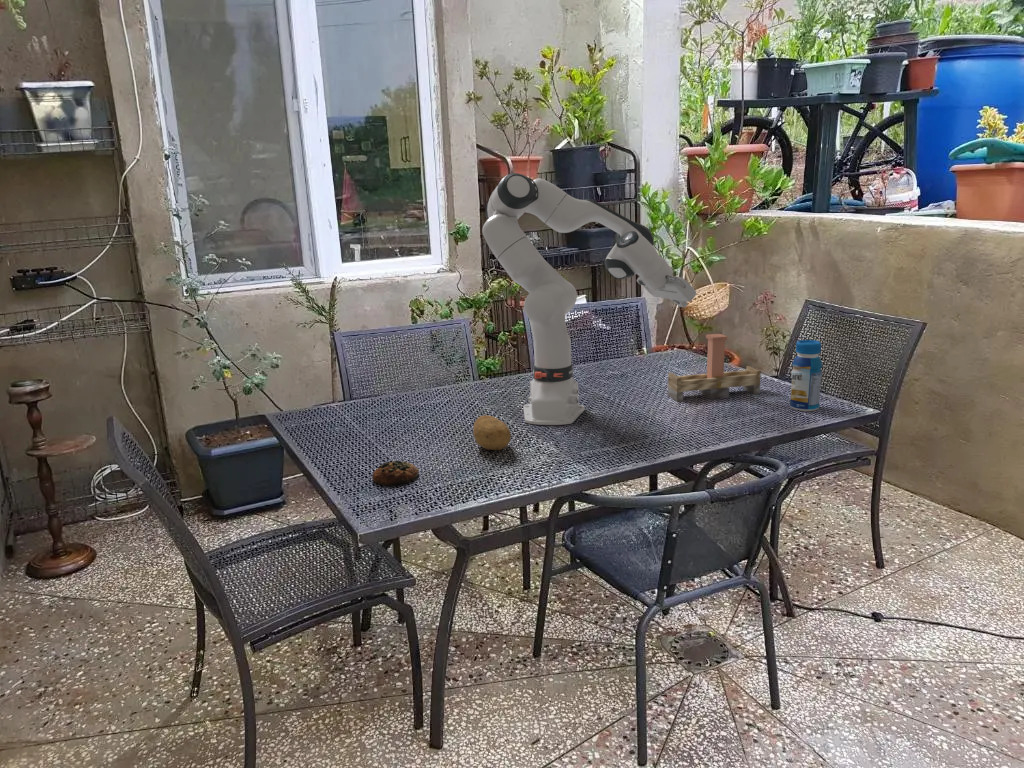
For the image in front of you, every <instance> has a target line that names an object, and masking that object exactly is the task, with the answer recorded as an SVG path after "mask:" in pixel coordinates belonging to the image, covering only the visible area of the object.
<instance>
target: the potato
mask: <svg viewBox="0 0 1024 768" xmlns="http://www.w3.org/2000/svg"><path fill="white" fill-rule="evenodd" d="M472 430H473V437H474V439H475V442H476V444H477V445H479V447H482V448H484V449H485V450H492V451H500V450H502V449H504V448H506V447H507V446H508V445H509V443H510V442H511V437H512V434H511V431H510V429H509V427H508V426H507V424H506V423H505V422H504V421H502V420H500V419H498V418H497V417H495V416H492V415H487V414H486V415H481V416H478V418H477V419H476V420H475V421H474V424H473V429H472Z"/></svg>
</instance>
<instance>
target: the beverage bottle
mask: <svg viewBox="0 0 1024 768" xmlns="http://www.w3.org/2000/svg"><path fill="white" fill-rule="evenodd" d="M821 352H822V342H820V341H819V340H816V339H801V340H797V341H796V346H795V353H796V354H797V355H796V356H795V358H794V359H793V361H792V364H791V365H792V370H791V374H790V376H791V385H790V389H791V390H790V401H789V406H790V409H792V410H796V411H798V410H799V412H814V411H817V410H819V409H820V396H821V395H820V394H821V384H822V383H821V382H822V378H823V372H822V368H823V362H822V360H821V358H820V356H819V355H820V354H821Z"/></svg>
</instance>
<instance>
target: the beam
mask: <svg viewBox="0 0 1024 768" xmlns="http://www.w3.org/2000/svg"><path fill="white" fill-rule="evenodd" d="M761 375H762V371H761V370H759V369H757V368H755V367H753V366H751V365H746V369H743V370H742V369H741V370H733V371H724V375H723V377H714V378H707V373H699V374H687V375H686V374H685V375H677V374H675V373H673V372H668V377H667V378H668V379H667V396H669V397H670V398H671V399H672V398H673V400H674V401H675V402H683V401H684V398H683V397H684V392H691V391H692V392H693V391H694V392H695V391H698V392H699V393H700V394H702V395H704V396H705V397H707V398H709V399H710V400H716V399H726V398H730V388H736V387H737V388H738V387H742V388H743V390H745V391H747V392H749V393H751V394H752V395H758V393H761V378H762V377H761Z"/></svg>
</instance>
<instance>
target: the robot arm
mask: <svg viewBox="0 0 1024 768" xmlns="http://www.w3.org/2000/svg"><path fill="white" fill-rule="evenodd" d="M524 213H526V214H531V215H533V216H535V217H537V218H538V219H539V221H541V222H542V223H544V224H545V225H547V226H548V227H549V228H550V229H552V230H553V231H555V232H557V233H560V234H561V233H562V234H566V233H567V234H568V233H571V232H574V231H576V230H578V229H579V228H581V227H583V226H585V225H587V224H589V223H599V224H601V225H602V226H604V227H606V228H607V229H609V230H612V231H613V232H615V233H617V234H618V235H619V236H620V237H619V238H618V239H617V241H616V243H615V244H614V246H613V247H612V248H611V250H610V251H609V252H608V254H607V255H606V258H605V260H604V267H605V268H606V271H607V272H608V273H609V274H610V276H612V278H614V279H616V280H625V279H629V278H632V277H634V276H635V275H637V276H638V277H637V279H636V282H637V284H639V285H640V286H642V287H643V288H644V289H645V290H646V291H647V292H648V293H649V294H650V295H651V296H653V297H654V298H661V299H666V300H668V299H669V300H670V301H671V302H673V303H674V304H675V305H677V306H678V307H679V308H686V307H687V306H688V305H689V303H690V302H692V300H694V298H695V297H696V296H697V291H696V290H695V288H694V287H693V286H692V285H691V284H690V283H689V282H688V281H687V280H686V279H684V278H683V277H682V276H676V275H673V274H674V270H673V268H672V267H671V266H670V265H669V263H668V262H667V260H666V259H664V257H662V256H661V255H659V254H658V252H657V250H656V248H655V247H654V243H655V242H654V235H653V233H652V231H651V230H650V229H649V228H648V227H647V226H645V225H643V224H642V223H638V222H635V221H633V220H631V219H629V218H627V217H625V216H624V215H621V214H620V213H618V212H616V211H615V210H613V209H611V208H609V207H607V206H606V205H603V204H602V203H600V202H598V201H596V200H593V199H590V198H584V199H580V198H579V199H578V198H576V197H573V196H572V195H570V194H568V193H567V192H566V191H565V190H563V189H562V188H560V187H558V186H557V185H555V184H554V183H551V182H549V181H548V180H546V179H544V178H539V177H537V178H535V179H532V178H531V177H527V176H526V175H524V174H522V173H517V172H512V173H509V174H507V175H505V176H504V177H503V178H501V180H500V181H499V183H498V184H497V185H496V187H495V188H494V189H493V191H492V192H491V194H490V197H489V199H488V201H487V203H486V206H485V217H486V221H485V222H484V224H483V226H482V230H481V232H482V236H483V238H484V240H485V243H486V244H487V246H488V247H489V249H490V251H491V253H492V254H493V255H494V257H495V258H496V260H497V261H498V262H499V264H500V265H501V267H502V268H503V269H504V271H505V272H506V274H507V275H508V276H509V277H510V279H511V280H512V281H513V282H514V283H516V284H518V285H519V286H521V287H522V288H523V289H524V290H525V291H527V293H528V294H527V295H526V297H525V299H524V303H523V309H524V310H523V311H524V313H525V315H526V317H527V318H528V320H529V324H530V328H531V333H532V338H533V340H532V341H533V351H534V353H533V356H534V357H533V359H534V364H533V366H532V378H533V379H532V380H530V381H529V396H528V398H527V401H528V402H529V403H528V404H527V403H526V404H523V407H522V408H523V416H524V417H523V418H524V422H525V423H526V424H531V425H539V426H562V425H570V424H573V423H574V422H575V421H576V420H577V419H578V418H579V417H580V415H581V414H582V413H583V412H584V411H585V410H586V408H585V407H586V406H584V405H583V404H580V401H579V400H580V399H579V383H578V382H577V381H576V380H575V379H574V377H573V376H574V367H573V366H574V365H573V363H572V346H571V345H572V343H571V342H572V340H571V337H570V335H569V332H568V329H567V328H568V327H567V324H566V314H568V313H569V312H571V311H572V310H573V308H574V307H575V305H576V302H577V299H578V292H577V290H576V288H575V286H574V285H573V283H571V282H569V281H568V280H567V279H566V278H564V277H563V276H562V275H561V274H560V273H559V272H558V271H557V269H555V268H554V267H553V266H552V265H551V264H550V263H549V262H547V261H546V259H545V258H544V257H543V255H541V253H540V251H538V249H537V248H536V246H535V244H533V242H532V241H531V240H530V238H529V237H528V236H527V234H526V233H525V232H524V230H522V228H521V227H520V224H519V221H518V220H519V219H520V218H521V217H522V216H523V215H524Z"/></svg>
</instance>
